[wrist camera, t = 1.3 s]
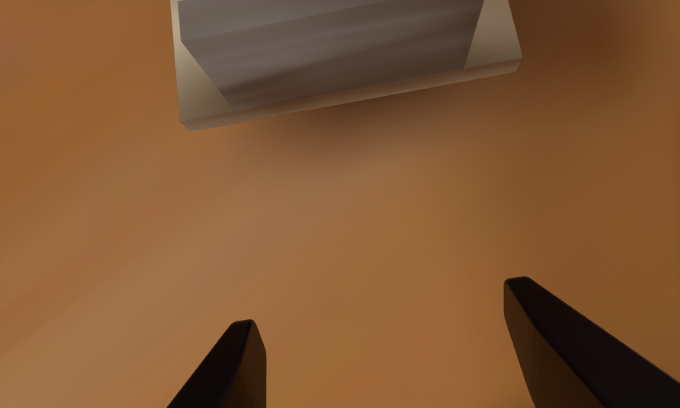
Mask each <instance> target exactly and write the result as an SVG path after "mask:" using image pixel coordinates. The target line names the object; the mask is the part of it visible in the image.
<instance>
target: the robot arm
mask: <svg viewBox="0 0 680 408" xmlns="http://www.w3.org/2000/svg"><path fill="white" fill-rule="evenodd" d="M504 316H505V321H506V324H507V327H508V330H509V333H510V336H511V339H512V342H513V345H514V348H515V351H516V354H517V357H518V360H519V363H520V366H521V369H522V372H523V375H524V379H525V382H526V384H527V387H528V390H529V393H530V396H531V398H532V400H533V403H534V405H535V407H536V408H680V382H678V381H677V380H675V379H674V378H672V377H671V376H670V375H668V374H667V373H665V372H664V371H662V370H661V369H660V368H658V367H657V366H655V365H654V364H652V363H651V362H649V361H648V360H647V359H645V358H644V357H642V356H641V355H639V354H638V353H637V352H635V351H634V350H632V349H631V348H629V347H628V346H627V345H625V344H624V343H622V342H621V341H619V340H618V339H616V338H615V337H614V336H612V335H611V334H609V333H608V332H606V331H605V330H604V329H602V328H601V327H599V326H598V325H596V324H595V323H593V322H592V321H591V320H589V319H588V318H586V317H585V316H583V315H582V314H581V313H579V312H578V311H576V310H575V309H573V308H572V307H570V306H569V305H568V304H566V303H565V302H563V301H562V300H560V299H559V298H558V297H556V296H555V295H553V294H552V293H550V292H549V291H548V290H546V289H545V288H543V287H542V286H540V285H539V284H537V283H536V282H535V281H533V280H532V279H530V278H529V277H526V276H522V277H515V278H509V279H506V280H505V282H504ZM167 408H266V350H265V347H264V344H263V341H262V339H261V336H260V333H259V331H258V328H257V325H256V323H255V322H254V321H253V320H251V319H248V320H242V321H236V322H233V323H232V324H231V325H230V326H229V327H228V329H227V330H226V331H225V332H224V334H223V335H222V336H221V338H220V339H219V340H218V342H217V343H216V344H215V345H214V347H213V348H212V349H211V351H210V352H209V353H208V355H207V356H206V357H205V358H204V360H203V361H202V362H201V364H200V365H199V366H198V368H197V369H196V370H195V371H194V373H193V374H192V375H191V377H190V378H189V379H188V381H187V382H186V383H185V384H184V386H183V387H182V388H181V390H180V391H179V392H178V393H177V395H176V396H175V397H174V399H173V400H172V401H171V403H170V404H169V405H168V406H167Z"/></svg>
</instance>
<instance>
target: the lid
mask: <svg viewBox="0 0 680 408" xmlns="http://www.w3.org/2000/svg"><path fill="white" fill-rule="evenodd" d="M171 13H172V26H173V39H174V52H175V65H176V78H177V91H178V104H179V117H180V122H181V123H182V124H183V125H184V126H185V127H187V128H188V129H189V130H190V131H191V132H192V131H198V130H203V129H209V128H214V127H219V126H225V125H230V124H236V123H241V122H247V121H252V120H258V119H263V118H269V117H274V116H280V115H285V114H290V113H296V112H301V111H307V110H312V109H318V108H323V107H329V106H334V105H340V104H345V103H350V102H356V101H361V100H367V99H372V98H378V97H383V96H389V95H394V94H400V93H405V92H410V91H416V90H421V89H427V88H432V87H438V86H443V85H449V84H454V83H460V82H465V81H471V80H476V79H481V78H487V77H492V76H498V75H503V74H509V73H514V72H516V71H517V69H518V67H519V65H520V63H521V61H522V59H523V55H522V51H521V48H520V44H519V40H518V36H517V33H516V29H515V25H514V21H513V17H512V14H511V10H510V6H509V2H508V0H171Z"/></svg>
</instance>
